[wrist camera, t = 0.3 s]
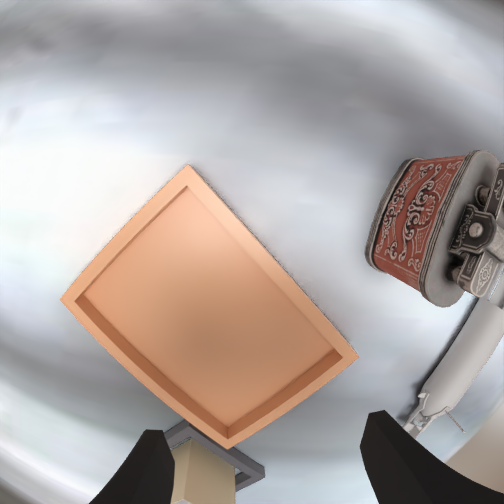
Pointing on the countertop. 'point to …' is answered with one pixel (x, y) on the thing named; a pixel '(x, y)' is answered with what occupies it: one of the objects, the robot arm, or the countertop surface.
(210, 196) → the parts tray
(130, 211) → the countertop surface
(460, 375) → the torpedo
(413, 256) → the lighter
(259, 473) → the socket
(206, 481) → the tan rectangular block
